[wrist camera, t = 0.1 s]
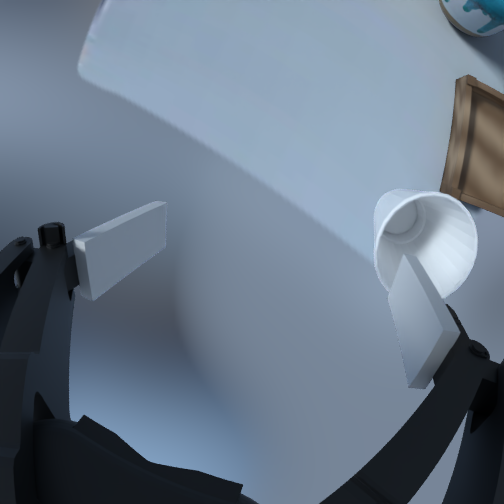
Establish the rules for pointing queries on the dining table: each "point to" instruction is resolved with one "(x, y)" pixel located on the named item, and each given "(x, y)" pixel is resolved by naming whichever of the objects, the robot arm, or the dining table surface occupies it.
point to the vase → (475, 16)
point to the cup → (424, 237)
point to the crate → (476, 147)
